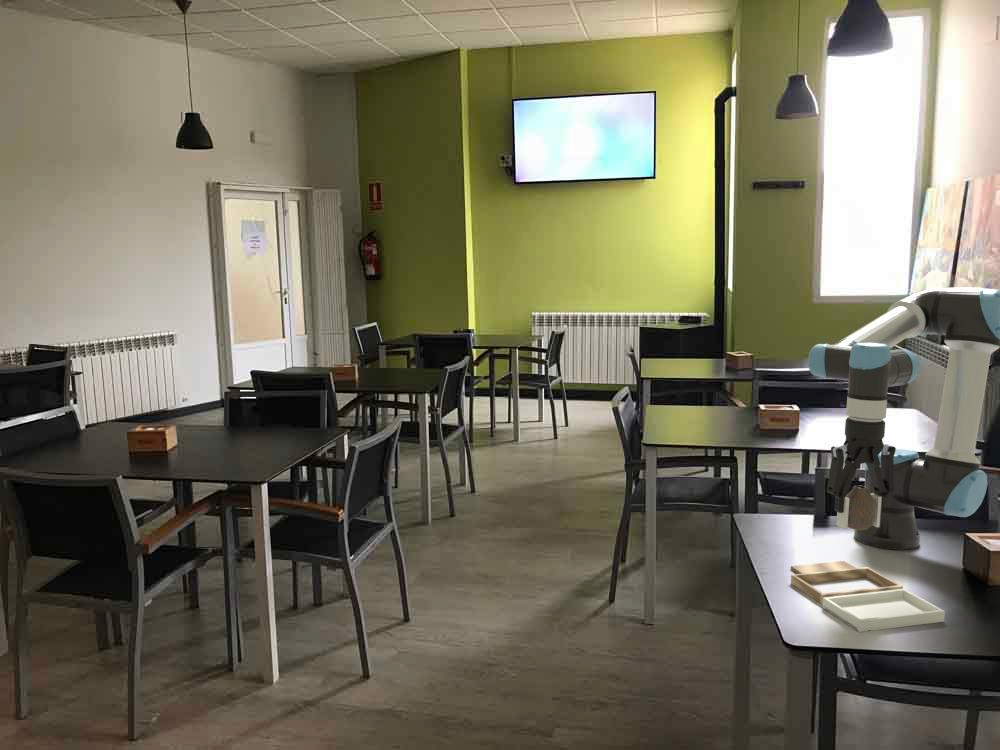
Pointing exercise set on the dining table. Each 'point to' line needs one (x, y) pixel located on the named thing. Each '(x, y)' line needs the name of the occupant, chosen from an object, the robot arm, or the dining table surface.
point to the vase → (861, 508)
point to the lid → (821, 567)
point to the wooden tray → (805, 578)
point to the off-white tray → (882, 610)
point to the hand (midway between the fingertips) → (857, 526)
